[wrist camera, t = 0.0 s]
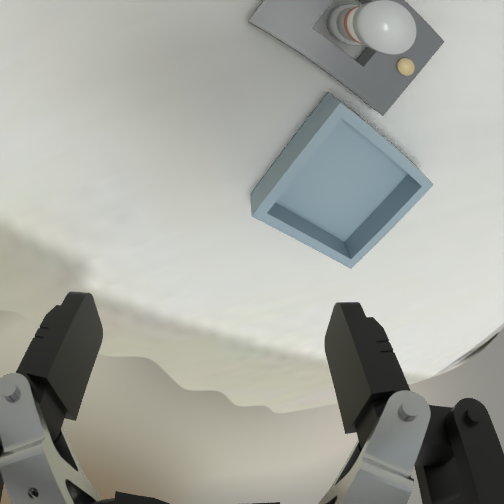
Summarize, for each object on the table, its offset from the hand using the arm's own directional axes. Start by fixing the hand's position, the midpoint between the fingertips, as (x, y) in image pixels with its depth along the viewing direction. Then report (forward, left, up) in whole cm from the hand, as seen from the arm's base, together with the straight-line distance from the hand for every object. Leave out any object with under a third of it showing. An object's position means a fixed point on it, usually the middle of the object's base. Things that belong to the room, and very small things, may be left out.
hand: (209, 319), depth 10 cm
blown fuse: (-13, +4, -22) cm, 26 cm away
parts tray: (0, +13, -22) cm, 26 cm away
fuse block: (-13, +4, -22) cm, 26 cm away
